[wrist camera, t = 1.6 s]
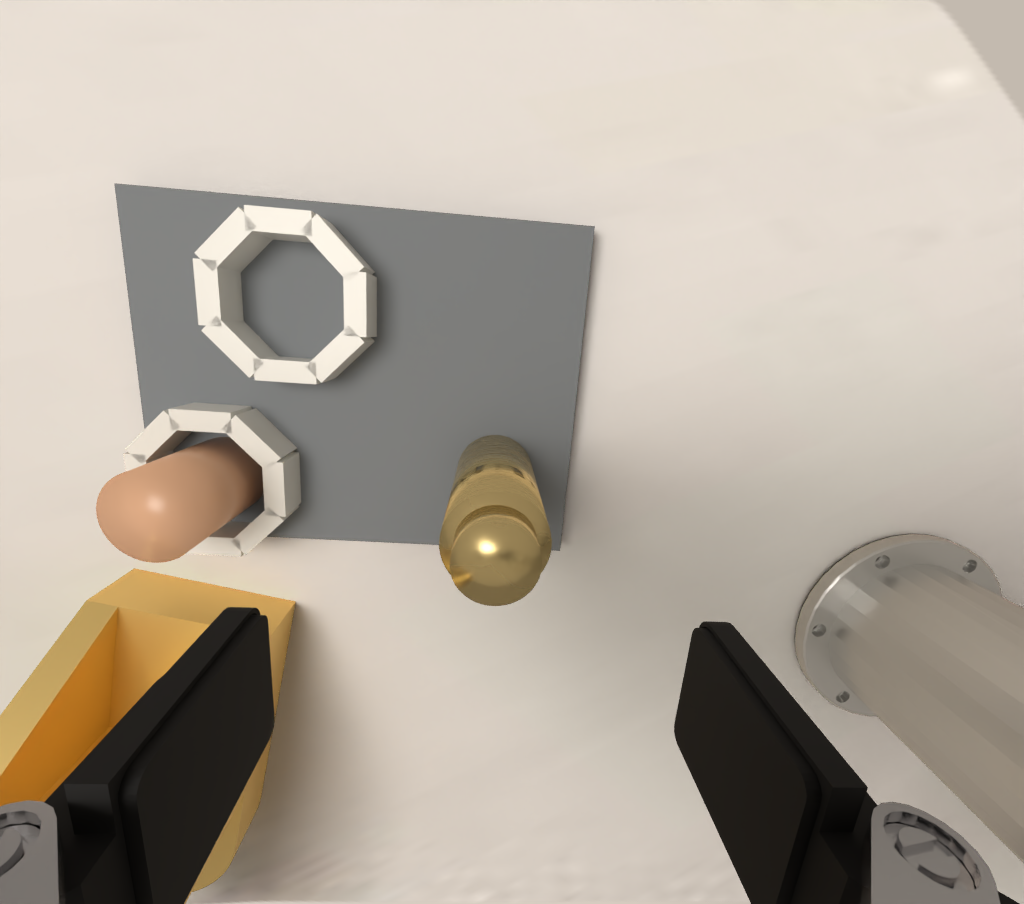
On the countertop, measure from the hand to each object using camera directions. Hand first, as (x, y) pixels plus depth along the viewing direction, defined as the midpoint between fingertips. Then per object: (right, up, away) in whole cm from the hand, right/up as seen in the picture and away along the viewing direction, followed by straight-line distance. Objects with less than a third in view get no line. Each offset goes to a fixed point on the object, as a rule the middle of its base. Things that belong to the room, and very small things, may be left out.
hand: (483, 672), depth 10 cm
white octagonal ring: (-10, +12, +13) cm, 20 cm away
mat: (-7, +8, +15) cm, 18 cm away
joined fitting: (-14, +4, +15) cm, 21 cm away
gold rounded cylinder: (0, +4, +15) cm, 16 cm away
